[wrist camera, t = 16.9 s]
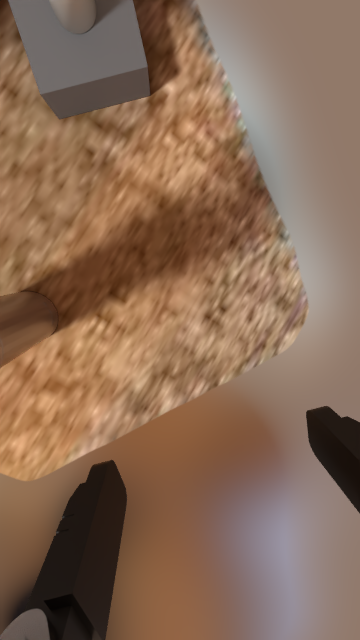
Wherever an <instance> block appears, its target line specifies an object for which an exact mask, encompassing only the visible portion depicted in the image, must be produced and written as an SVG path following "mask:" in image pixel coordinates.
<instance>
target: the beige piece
mask: <svg viewBox="0 0 360 640" xmlns="http://www.w3.org/2000/svg"><path fill="white" fill-rule="evenodd" d="M49 2H50V4H51V7H52V9H53V11H54V14H55V16H56V18H57V20H58V21H59V23H60V24H61V25H62V26H63V27H64V28H65V29H66V30H68V31H69V32H72V33H75V34H81V33H84V32H86V31H88V30H89V29H90V28H91V27H92V26H93V24H94V22H95V18H96V3H95V0H49Z"/></svg>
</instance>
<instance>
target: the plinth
mask: <svg viewBox="0 0 360 640" xmlns="http://www.w3.org/2000/svg"><path fill="white" fill-rule="evenodd" d="M8 1H9V4H10V7H11V10H12V13H13V16H14V19H15V21H16V24H17V27H18V30H19V33H20V36H21V39H22V42H23V45H24V48H25V51H26V54H27V57H28V59H29V62H30V65H31V68H32V71H33V74H34V77H35V80H36V83H37V86H38V89H39V92H40V95H41V96H42V97H43V98H44V100H45V101H46V102H47V104H48V105H49V106H50V108H51V109H52V110H53V112H54V113H55V114H56V116H57V117H58V118H59V119H62V118H66V117H70V116H74V115H78V114H82V113H85V112H89V111H93V110H97V109H101V108H105V107H109V106H112V105H116V104H120V103H124V102H128V101H132V100H135V99H139V98H143V97H147V96H150V87H149V76H148V66H147V61H146V57H145V53H144V48H143V44H142V39H141V35H140V30H139V26H138V21H137V17H136V12H135V8H134V3H133V0H95V3H96V18H95V22H94V24H93V26H92V27H91V28H90V29H89V30H88V31H86V32H84V33H81V34H75V33H72V32H69V31H68V30H66V29H65V28H64V27H63V26H62V25H61V24H60V23H59V21H58V20H57V18H56V16H55V14H54V11H53V9H52V7H51V4H50V2H49V0H8Z"/></svg>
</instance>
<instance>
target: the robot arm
mask: <svg viewBox="0 0 360 640" xmlns="http://www.w3.org/2000/svg"><path fill="white" fill-rule="evenodd" d="M57 325H58V314H57V311H56V309H55V307H54V305H53V304H52V303H51V301H50V300H49V299H47V298H46V297H45V296H43V295H41V294H39V293H36V292H31V291H23V292H18V293H14V294H9V295H4V296H0V368H1V367H3V366H4V365H6V364H7V363H9V362H10V361H12V360H13V359H15V358H16V357H18V356H20V355H21V354H23V353H24V352H26V351H27V350H29V349H30V348H32V347H33V346H35V345H37V344H38V343H40V342H41V341H43V340H44V339H46V338H47V337H49V336H50V335H51V334H53V332H54V331H55V330H56V327H57ZM306 418H307V427H308V438H309V443H310V446H311V448H312V450H313V452H314V454H315V456H316V457H317V459H318V460H319V461H320V462H321V464H322V465H323V466H324V468H325V469H326V470H327V471H328V473H329V474H330V475H331V477H332V478H333V479H334V480H335V482H336V483H337V485H338V486H339V487H340V488H341V490H342V491H343V492H344V494H345V495H346V496H347V498H348V499H349V500H350V501H351V503H352V504H353V505H354V507H355V508H356V509H357V511H358V512H359V513H360V422H358V421H356V420H354V419H352V418H350V417H343V418H341V417H340V416H339V415H338V414H337V413H335V412H334V411H333V410H332V409H331V408H330V407H328V406H324V407H320V408H316V409H312V410H308V411H307V412H306ZM126 503H127V494H126V488H125V486H124V483H123V480H122V478H121V476H120V473H119V471H118V469H117V466H116V464H115V462H114V461H113V460H110V461H106V462H102V463H98V464H94V465H93V466H92V467H91V470H90V472H89V475H88V478H87V480H86V483H82V484H80V485H79V486H78V488H77V489H76V490H75V492H74V494H73V495H72V496H71V498H70V499H69V501H68V504H67V506H66V509H65V511H64V514H63V516H62V520H61V521H60V524H59V526H58V529H57V531H56V536H54V539H53V541H52V544H51V546H50V549H49V551H48V553H47V556H46V559H45V561H44V563H43V566H42V569H41V571H40V574H39V576H38V579H37V581H36V584H35V586H34V589H33V591H32V594H31V596H30V598H29V601H28V603H27V605H26V608H25V610H24V611H23V613H22V614H21V615H20V616H19V617H17V618H16V619H15V620H14V621H13V622H12V623H11V624H10V625H9V626H8V627H7V628H6V630H5V631H4V632H3V633H2V635H1V636H0V640H105V638H106V631H107V625H108V619H109V613H110V606H111V600H112V594H113V587H114V581H115V575H116V568H117V562H118V556H119V549H120V543H121V536H122V530H123V524H124V517H125V511H126Z"/></svg>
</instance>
